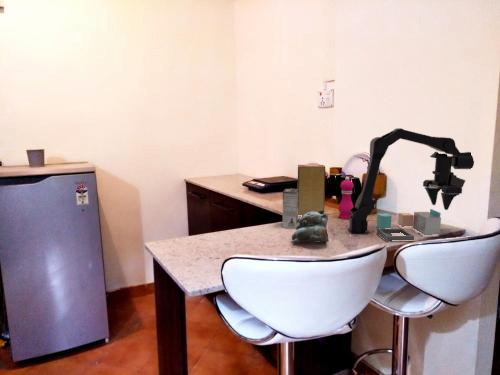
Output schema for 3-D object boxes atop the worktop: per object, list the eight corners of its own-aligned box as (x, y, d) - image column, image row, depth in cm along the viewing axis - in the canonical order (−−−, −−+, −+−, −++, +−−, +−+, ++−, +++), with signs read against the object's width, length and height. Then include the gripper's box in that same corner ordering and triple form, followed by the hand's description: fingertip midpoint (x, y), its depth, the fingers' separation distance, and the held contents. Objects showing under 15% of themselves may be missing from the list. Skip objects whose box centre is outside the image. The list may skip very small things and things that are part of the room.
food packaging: (322, 212, 187) (324, 164, 183) (324, 217, 178) (326, 166, 174) (296, 212, 188) (297, 164, 184) (297, 216, 179) (298, 166, 175)
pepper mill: (353, 216, 179) (355, 176, 176) (353, 220, 172) (355, 178, 169) (338, 215, 181) (339, 175, 178) (337, 219, 174) (339, 177, 171)
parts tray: (386, 241, 139) (387, 236, 139) (376, 234, 149) (377, 228, 149) (413, 241, 139) (414, 236, 139) (401, 233, 149) (402, 228, 149)
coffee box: (284, 222, 168) (284, 188, 165) (298, 223, 167) (298, 188, 164) (282, 227, 159) (282, 191, 157) (296, 228, 158) (297, 192, 155)
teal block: (380, 229, 156) (381, 216, 155) (376, 226, 160) (377, 213, 159) (390, 229, 156) (391, 216, 155) (386, 226, 160) (387, 213, 159)
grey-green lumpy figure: (284, 242, 138) (286, 207, 143) (304, 248, 146) (305, 215, 150) (316, 239, 128) (317, 202, 132) (336, 246, 135) (336, 210, 140)
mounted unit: (424, 237, 144) (426, 214, 143) (412, 230, 154) (414, 208, 153) (440, 237, 145) (442, 213, 143) (427, 230, 154) (429, 208, 153)
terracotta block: (402, 228, 157) (403, 215, 156) (397, 226, 161) (398, 212, 160) (412, 228, 157) (413, 215, 156) (407, 225, 162) (408, 212, 161)
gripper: (477, 171, 136) (473, 212, 139) (449, 166, 155) (446, 202, 157) (448, 172, 136) (445, 212, 139) (423, 166, 154) (421, 202, 157)
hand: (439, 207), depth 148 cm, fingers open, 9 cm apart
